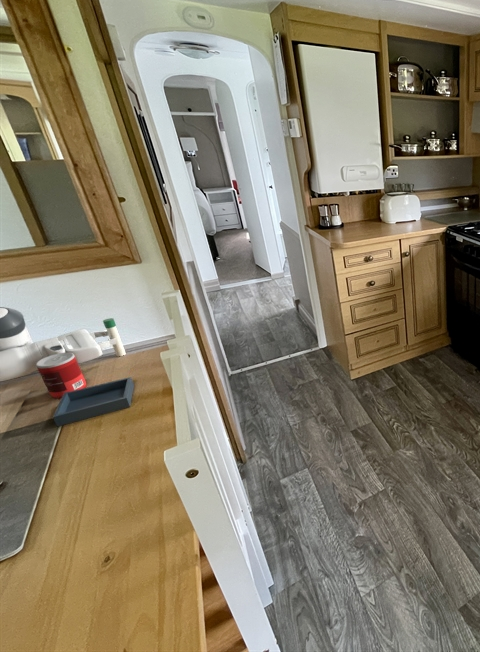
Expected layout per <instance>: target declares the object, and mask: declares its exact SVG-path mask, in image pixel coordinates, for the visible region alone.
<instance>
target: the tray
mask: <svg viewBox="0 0 480 652" xmlns="http://www.w3.org/2000/svg"><path fill="white" fill-rule="evenodd" d="M134 388H135V384H134V381H133V378H132V376H129V377H125V378H121V379H116V380H112V381H109V382H103V383H99V384H96V385H91V386H86V388H83V389H78V390H74V391H70V392H66V393H64V394H63V396H62V398H60V400H59V403H58V405H57V407H56V409H55V411H54V413H53V416H52V420H53V421H54V423H55V425H56V427H57V426H58V427H62V426H66V425H69V424H73V423H76V422H79V421H84V420H88V419H91V418H95V417H99V416H102V415H105V414H110V413H113V412H117V411H121V410H125V409H127V408H131V404H132V399H133V393H134Z"/></svg>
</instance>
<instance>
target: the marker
mask: <svg viewBox="0 0 480 652" xmlns="http://www.w3.org/2000/svg"><path fill="white" fill-rule="evenodd" d="M102 322H103V325H104V327H105V330H107V332H108V335H109V336H108V337H109V339H111V338H115V339H116V340H117V343H116V344H114V345H112V348H113V350H114V353H115V356H116V357H117V358H119V356H120V357H123V355H124V356H125V355H127V352H126V349H125V348H124V345H123V341H122V339H121V336H120V334H119V331H118V328H117V325H116V321H115V318H105V319H103V320H102Z"/></svg>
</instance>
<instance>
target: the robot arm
mask: <svg viewBox="0 0 480 652" xmlns="http://www.w3.org/2000/svg"><path fill="white" fill-rule="evenodd" d="M101 337H103V338H105V337H109V335H108V332H107V330H106V329H104V330H96V331H90V332H89V331H88V330H87V329H85V328H83V329H77V330H74V331H70V332H67V333H63V334H60V335H59V336H54V337H50V338H45V339H42V340H39V341H35V342H34V341H33V339H32V337H31V334H30V332H29V330H28V327H27V326H26V322H25V318H24V315H23V313H22V312H20V311H19V310H17V309H15V308H10V307H6V306H0V383H1V382H5V381H10V380H15V379H18V378H21V377H24V376H28V375H30V374H31V373H34V372H37V371H38V368H37V366H36V363H37V362H38V361H40V360H41V359H43V358H46V357H48V356H51V355H54V354H59V353H73V354H74V356H75V358H76V360H77V362H78V365H79V364H83V363H86V362H88V361H91V360H94V359H97V358H99V357H102V355H103V351H102V350H105V349H107V348H109V347H111V346H113V345H114V344H116V343H117V340H116V339H115V338H111V339H110V338H107V340H105V341H100V342H98V341H96V340H95V339H96V338H101Z"/></svg>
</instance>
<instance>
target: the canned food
mask: <svg viewBox="0 0 480 652" xmlns="http://www.w3.org/2000/svg"><path fill="white" fill-rule="evenodd" d="M36 366H37V368H38V370H37V371H38V373H39V375H40V377H41V379H42V381H43V383H44V385H45V387H46V390H47V392H48V393H49V395H50V396H51V397H52V398H53V399H61V398H62V396H63V394H64V393H66V392H70V391H74V390H78V389H83V388H87V382H86V379H85V376H84V375H83V372H82V370H81V367H80V365H79V364H78V362H77V360H76V358H75V356H74V354H73V353H59V354H54V355H51V356H48V357H46V358H43V359H41V360H40V361H38V362H37V363H36Z"/></svg>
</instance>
